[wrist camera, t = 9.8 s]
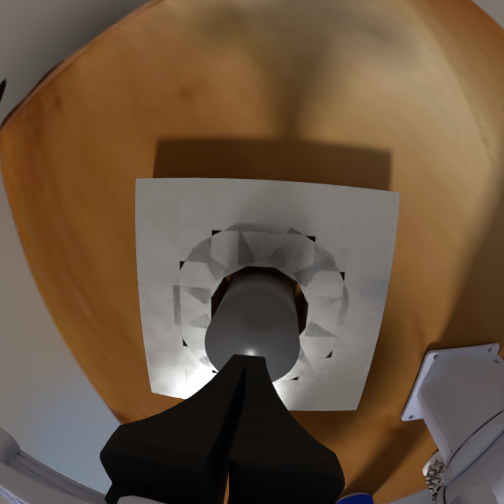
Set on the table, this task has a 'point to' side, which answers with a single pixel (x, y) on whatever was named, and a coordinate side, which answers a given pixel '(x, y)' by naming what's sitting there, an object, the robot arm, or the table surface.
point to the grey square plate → (265, 255)
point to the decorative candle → (434, 473)
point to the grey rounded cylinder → (256, 321)
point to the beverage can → (356, 499)
